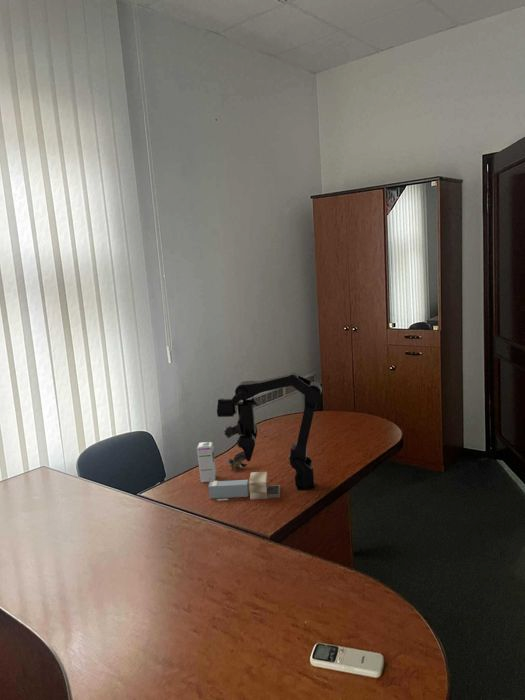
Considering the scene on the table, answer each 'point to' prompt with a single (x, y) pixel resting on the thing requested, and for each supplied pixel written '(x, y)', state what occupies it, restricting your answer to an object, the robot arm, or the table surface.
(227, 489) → the grey rectangular block
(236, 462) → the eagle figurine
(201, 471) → the syrup box
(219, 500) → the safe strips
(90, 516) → the table surface
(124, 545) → the table surface
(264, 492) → the tunnel
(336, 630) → the table surface
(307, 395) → the robot arm
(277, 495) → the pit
